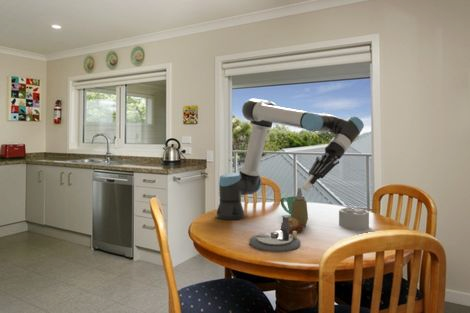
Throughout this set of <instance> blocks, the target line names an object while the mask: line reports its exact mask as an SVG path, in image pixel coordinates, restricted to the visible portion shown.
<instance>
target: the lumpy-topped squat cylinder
mask: <svg viewBox="0 0 470 313" xmlns="http://www.w3.org/2000/svg"><path fill="white" fill-rule="evenodd" d="M338 226H340V228H341V227H342V228H345V229H348V230H353V231H354V230H355V231H365V230H366V229H369V227H370V212H369V211H367V210H365V209H363V208H360V207H358V206H355V207H353V208H352V207H351V206H346V207H344V208H341V209H338Z"/></svg>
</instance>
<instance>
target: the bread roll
mask: <svg viewBox="0 0 470 313" xmlns="http://www.w3.org/2000/svg"><path fill="white" fill-rule="evenodd" d="M279 231H282V233H283V221H282V222H281V224H280V230H279ZM293 231H297V234H301V233H302V232H303V231H304V226H303V224H302V223H301V222H300V221H299V220H298V219H296V218H292V217H291V216H289V235H293Z"/></svg>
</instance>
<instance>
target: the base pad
mask: <svg viewBox="0 0 470 313" xmlns="http://www.w3.org/2000/svg"><path fill="white" fill-rule="evenodd" d="M297 234H298V233H297V231H293V234H292V235H291V236H292V242H291V243H290V244H287V245H280V246H273V245H265V244H262V243H260V242H258V241H257V235H258V234H256V235H253V236H251V237H250V238H249V245H250V246H251V247H252V248H253V249H257V250H259V251H263V252H271V253H272V252H273V253H280V252H281V253H283V251H285V252H291V251H294V250H297V249H298V248H300V247H301V240H300V239H299V238H298V236H297ZM290 250H291V251H290Z"/></svg>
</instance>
